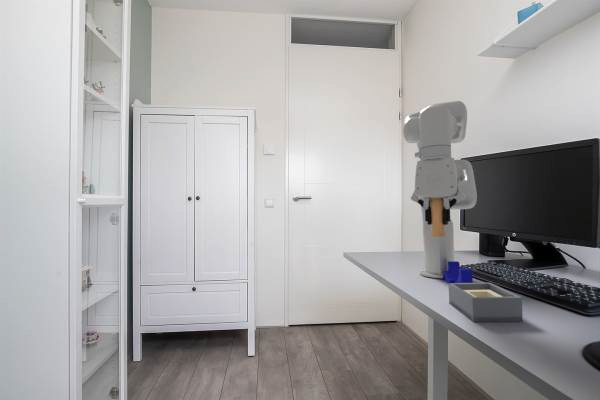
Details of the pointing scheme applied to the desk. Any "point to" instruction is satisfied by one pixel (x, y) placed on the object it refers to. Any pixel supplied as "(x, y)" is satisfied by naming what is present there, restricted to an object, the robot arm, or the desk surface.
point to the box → (485, 302)
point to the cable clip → (457, 274)
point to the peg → (437, 217)
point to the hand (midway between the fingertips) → (437, 223)
